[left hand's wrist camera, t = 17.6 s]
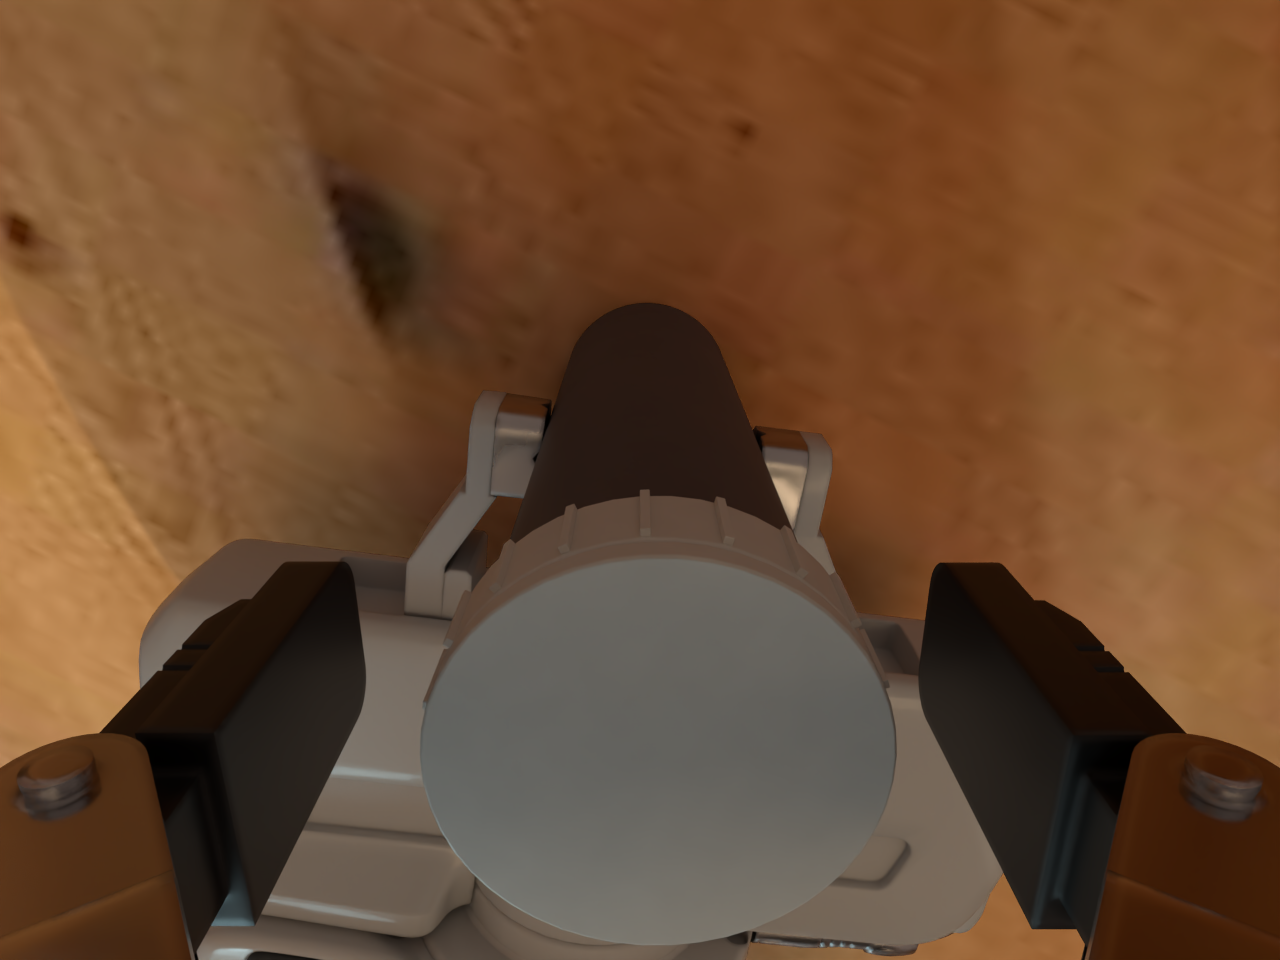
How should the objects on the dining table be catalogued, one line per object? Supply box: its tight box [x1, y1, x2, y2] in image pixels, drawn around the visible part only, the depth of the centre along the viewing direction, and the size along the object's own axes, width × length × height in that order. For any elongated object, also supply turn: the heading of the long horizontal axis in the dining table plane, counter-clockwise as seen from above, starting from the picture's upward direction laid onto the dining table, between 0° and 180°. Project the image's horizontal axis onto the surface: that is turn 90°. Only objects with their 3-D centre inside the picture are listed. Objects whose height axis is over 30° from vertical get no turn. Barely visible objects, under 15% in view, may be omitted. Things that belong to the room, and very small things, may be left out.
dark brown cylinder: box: [510, 303, 798, 543], centre depth 17 cm, size 4×4×16 cm
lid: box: [420, 489, 897, 945], centre depth 10 cm, size 5×5×2 cm
